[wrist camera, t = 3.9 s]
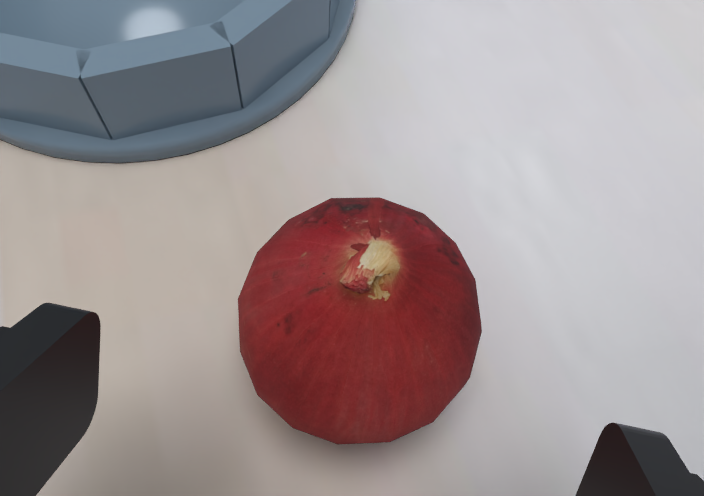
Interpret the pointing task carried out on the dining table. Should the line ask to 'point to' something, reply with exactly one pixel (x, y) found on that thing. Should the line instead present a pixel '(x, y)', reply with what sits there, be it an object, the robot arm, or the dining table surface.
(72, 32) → the bowl
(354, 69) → the dining table surface
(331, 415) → the onion
